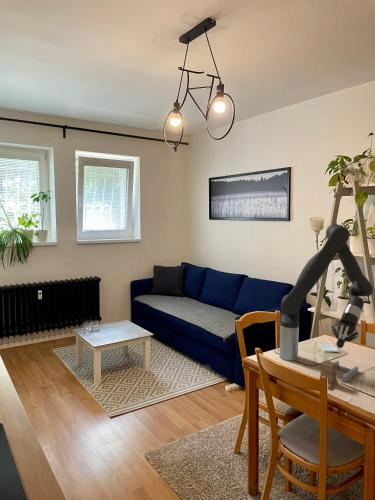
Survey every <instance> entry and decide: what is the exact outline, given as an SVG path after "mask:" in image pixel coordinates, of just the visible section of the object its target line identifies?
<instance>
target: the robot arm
mask: <svg viewBox="0 0 375 500" xmlns="http://www.w3.org/2000/svg"><path fill="white" fill-rule="evenodd" d="M325 231H326V232H325V235H326V238H327V240H326V241H325V243H324V245H323V246H322V248H321V249H320V250H319V251H318V252H316V253H315V254H314V255H313V256H311V258H310V259H308V261H307V262H306V264H305V265H304V267H303V269H302V270H301V272H300V274H299V276H298V278H297V279H296V282H295V285H294V286H293V288H292V289H291V291H289V293H288V294H285V295H284V296H283V297H282V299H281V303H280V332H279V334H280V335H279V356H278V357H279V358H280V359H281V360H284V361H288V362H292V361H293V362H294V361H297V360H298V357H299V355H298V354H299V336H300V335H299V333H300V332H299V331H300V328H299V327H300V310H301V309H300V308H301V306H302V304H303V302H304V300H305V298H306V297H307V296H308V294H309V293H310V292H311V290H312V289H313V288H314V287H315V286H316V284H317V283H318V281H320V279H321V278H322V277H323V275H324V273H325V272H326V270H327V268H328V267H329V266H330V264H331V263H332V261H333V260H334V258H335V257H336V255H337V256H338V257H339V260H340V263H341V265H342V267H343V270H344V272H345V274H346V276H347V279H348V280H349V281H350V282H353V283H352V284H351V285H350V286H349V292H348V294H349V295H348V302H347V303H346V306H345V307H344V310H343V312H342V315H341V317H340V321H339V322H338V324H337V325H336V326H334V325H332V326H331V329H332V332H333V334H334V337H335V339H336V340H337V341H336V344H335V346H336V348H337V349H342V348H344V345H345V343H347V342H348V343H350V342H351V341H353V340H355V339H357V338H358V337H360V334H359V332H358V331H357V329H356V328H357V326H358V323H359V320H360V318H361V315H362V311H363V308H364V306H365V301H364V299H363V298H361V297H370V296H372V294H373V292H374V287H373V285H372V283H371V282H370V280H369V279H368V278H367V277H366V275H364V273H363V271H362V268H361V267H360V264H359V262H358V261H357V259H356V258H355V256H354V254H353V252H352V251H351V249H350V247H349V246H348V241H349V239H350V231H349V229H348V228H347V227H345V226H343V225H341V224H338V223H337V224H335V223H334V224H331V225H329V226H328V227H327V229H326V230H325ZM337 332H339V333H337Z"/></svg>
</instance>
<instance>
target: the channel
mask: <svg viewBox="0 0 375 500" xmlns="http://www.w3.org/2000/svg"><path fill="white" fill-rule="evenodd" d="M334 362H335V363H337V370H339V371H342V372H345V373H344V375H343V376H342V377H341V378H342V379H341V381H342V383H346V382H347V381H349V380H350V379H351V378H352V377H353V376H355V375H356V374H357V373H358V372H359V366H357V365H355V366H353V368H348V367H345V366H341V365H340V361H339V360H335V361H334ZM348 379H349V380H348Z"/></svg>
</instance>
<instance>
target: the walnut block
mask: <svg viewBox="0 0 375 500" xmlns="http://www.w3.org/2000/svg"><path fill="white" fill-rule="evenodd" d="M337 370H338V369H337V363H335V361H332V360H331V361H330V360H328V359H325V360H323V361H322V362H320V376H325V377H327V378H328V389H327V390H329V391H330V390H331V389H332V388H334V387H335V386H336V385H337V384H338V383H339V380H338V379H337Z"/></svg>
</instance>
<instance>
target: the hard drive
mask: <svg viewBox="0 0 375 500" xmlns="http://www.w3.org/2000/svg"><path fill="white" fill-rule="evenodd" d="M318 346H319V348H320V349H321V350H322V352H323V351H324V352H339V353H338V354H340V350H339V348H338V347H337V346H336V345H335V344H334V343H331V342H318ZM324 352H323V353H324Z"/></svg>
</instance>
